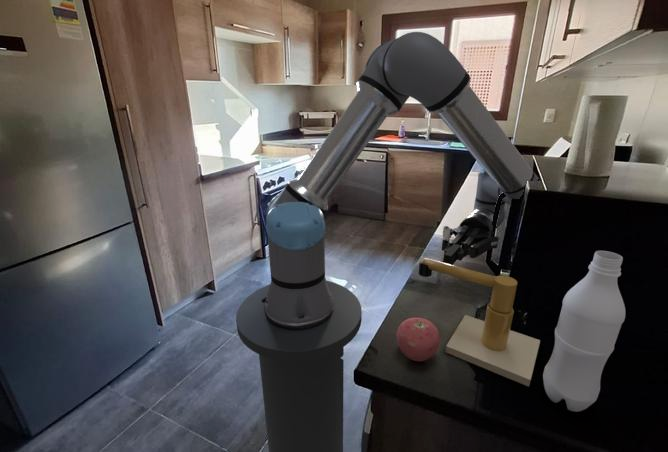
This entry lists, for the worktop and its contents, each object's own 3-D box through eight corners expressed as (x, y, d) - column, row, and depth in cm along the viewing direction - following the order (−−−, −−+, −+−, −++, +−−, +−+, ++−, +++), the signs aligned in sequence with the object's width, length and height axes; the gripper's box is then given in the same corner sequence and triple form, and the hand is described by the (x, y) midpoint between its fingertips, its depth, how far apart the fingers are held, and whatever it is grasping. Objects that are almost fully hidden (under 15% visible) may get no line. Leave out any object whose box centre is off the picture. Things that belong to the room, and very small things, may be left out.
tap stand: (445, 352, 64) (450, 310, 61) (464, 320, 73) (470, 283, 70) (529, 387, 56) (540, 341, 53) (538, 346, 65) (549, 305, 62)
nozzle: (513, 305, 62) (519, 278, 60) (509, 315, 59) (515, 287, 57) (421, 277, 71) (423, 253, 69) (414, 284, 69) (416, 260, 67)
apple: (446, 361, 62) (451, 324, 59) (414, 376, 58) (418, 338, 56) (418, 337, 68) (421, 303, 65) (388, 350, 65) (390, 314, 62)
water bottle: (537, 374, 59) (572, 241, 50) (588, 388, 56) (634, 249, 47) (541, 406, 53) (581, 261, 44) (597, 424, 50) (653, 272, 41)
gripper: (503, 247, 84) (477, 287, 66) (450, 235, 91) (414, 269, 73) (508, 218, 82) (483, 252, 64) (453, 208, 89) (417, 237, 71)
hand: (446, 261), depth 69 cm, fingers closed
